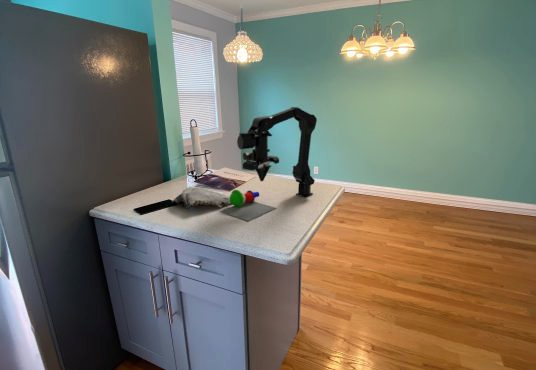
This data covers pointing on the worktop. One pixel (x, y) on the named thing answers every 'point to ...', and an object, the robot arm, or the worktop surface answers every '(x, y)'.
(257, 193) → the toy
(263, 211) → the mat
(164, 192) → the worktop surface
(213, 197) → the stone fragment
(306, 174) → the robot arm
